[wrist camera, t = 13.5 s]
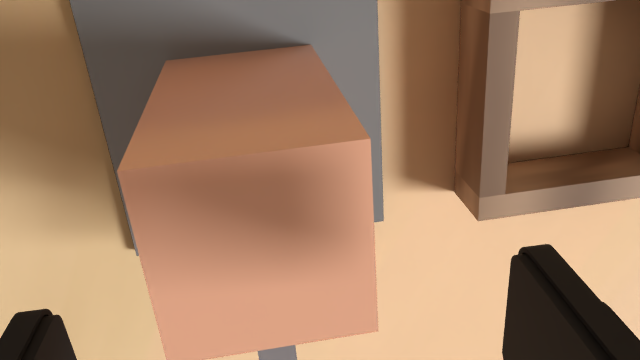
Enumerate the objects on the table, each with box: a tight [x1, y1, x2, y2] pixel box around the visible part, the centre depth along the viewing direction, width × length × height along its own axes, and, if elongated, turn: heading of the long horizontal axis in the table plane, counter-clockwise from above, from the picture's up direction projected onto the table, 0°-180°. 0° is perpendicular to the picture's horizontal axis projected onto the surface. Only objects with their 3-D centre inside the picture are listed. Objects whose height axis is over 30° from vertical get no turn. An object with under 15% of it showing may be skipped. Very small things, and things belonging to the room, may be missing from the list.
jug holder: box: [454, 0, 640, 221], centre depth 25 cm, size 10×10×3 cm
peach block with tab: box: [117, 45, 378, 360], centre depth 20 cm, size 6×9×11 cm, turn 4°
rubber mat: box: [69, 0, 384, 256], centre depth 24 cm, size 12×12×1 cm
